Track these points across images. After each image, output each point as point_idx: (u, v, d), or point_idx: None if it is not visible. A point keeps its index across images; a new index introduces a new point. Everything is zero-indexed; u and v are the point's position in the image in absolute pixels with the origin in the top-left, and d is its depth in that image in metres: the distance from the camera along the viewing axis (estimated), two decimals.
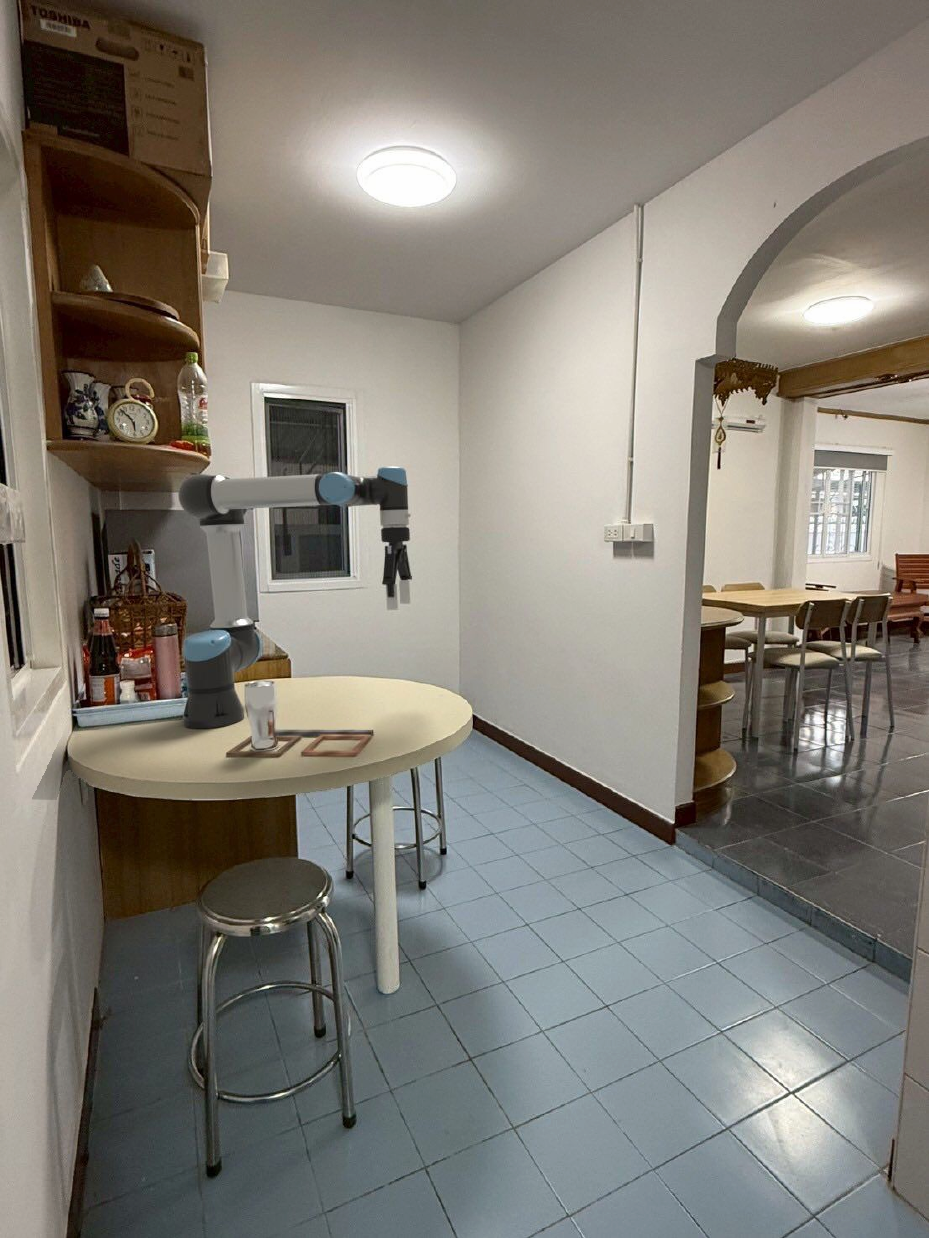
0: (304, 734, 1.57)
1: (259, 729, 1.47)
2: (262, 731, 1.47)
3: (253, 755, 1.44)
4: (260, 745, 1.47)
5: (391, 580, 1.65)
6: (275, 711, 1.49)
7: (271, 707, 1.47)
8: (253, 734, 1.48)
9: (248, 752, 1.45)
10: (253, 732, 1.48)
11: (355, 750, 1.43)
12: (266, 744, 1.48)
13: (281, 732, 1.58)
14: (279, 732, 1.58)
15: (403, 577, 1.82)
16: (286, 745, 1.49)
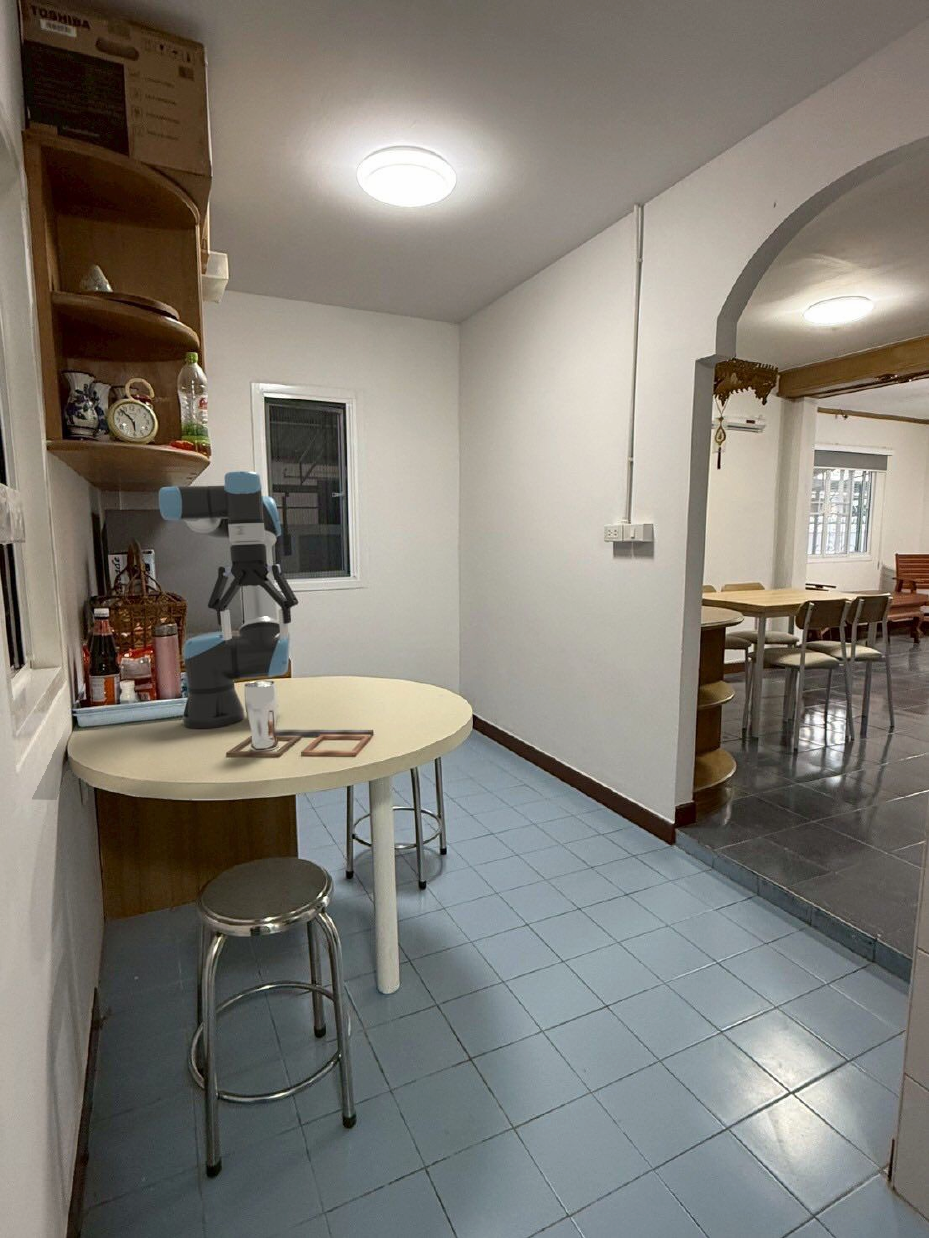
0: (304, 734, 1.57)
1: (259, 729, 1.47)
2: (262, 731, 1.47)
3: (253, 755, 1.44)
4: (260, 745, 1.47)
5: None
6: (275, 711, 1.49)
7: (271, 707, 1.47)
8: (253, 734, 1.48)
9: (248, 752, 1.45)
10: (253, 732, 1.48)
11: (355, 750, 1.43)
12: (266, 744, 1.48)
13: (281, 732, 1.58)
14: (279, 732, 1.58)
15: None
16: (286, 745, 1.49)
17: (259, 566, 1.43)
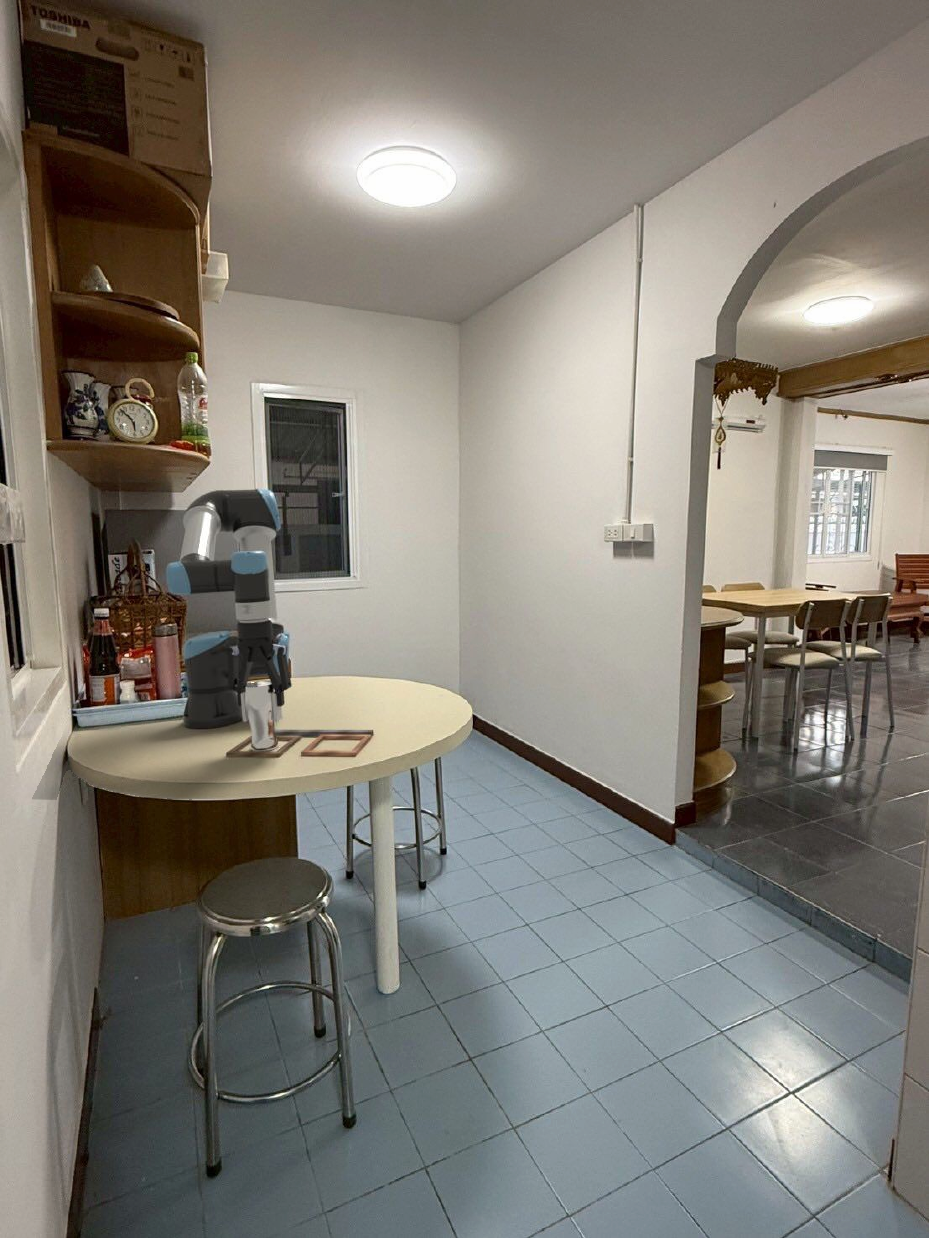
0: (304, 734, 1.57)
1: (259, 729, 1.47)
2: (262, 731, 1.47)
3: (253, 755, 1.44)
4: (260, 745, 1.47)
5: (229, 688, 1.49)
6: None
7: (271, 707, 1.47)
8: (253, 734, 1.48)
9: (248, 752, 1.45)
10: (253, 732, 1.48)
11: (355, 750, 1.43)
12: (266, 744, 1.48)
13: (281, 732, 1.58)
14: (279, 732, 1.58)
15: None
16: (286, 745, 1.49)
17: (266, 642, 1.46)
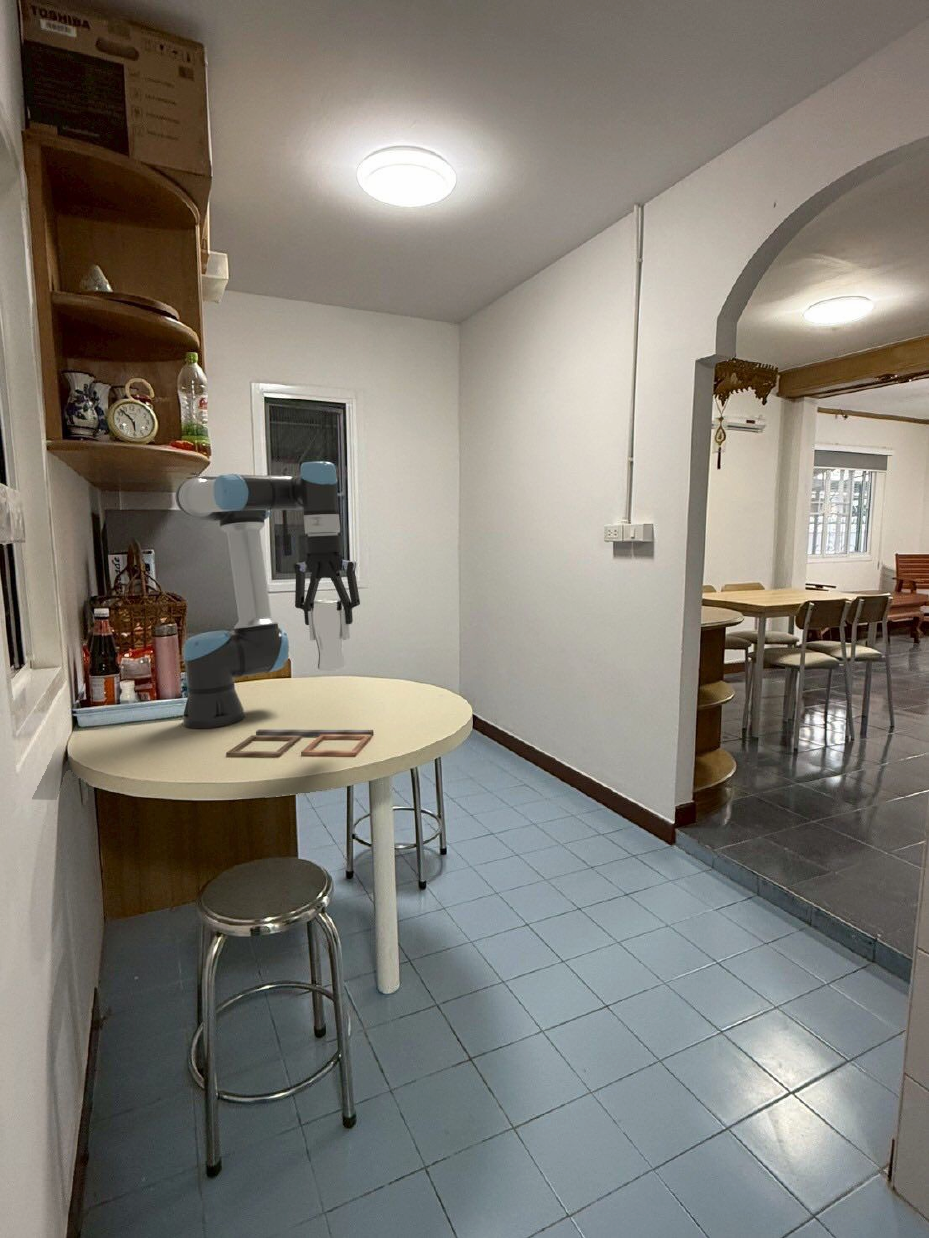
0: (304, 734, 1.57)
1: (327, 648, 1.43)
2: (331, 649, 1.43)
3: (253, 755, 1.44)
4: (328, 664, 1.43)
5: None
6: None
7: (339, 624, 1.43)
8: (321, 653, 1.44)
9: (248, 752, 1.45)
10: (321, 651, 1.44)
11: (355, 750, 1.43)
12: (334, 663, 1.44)
13: (281, 732, 1.58)
14: (279, 732, 1.58)
15: None
16: (286, 745, 1.49)
17: (336, 557, 1.42)
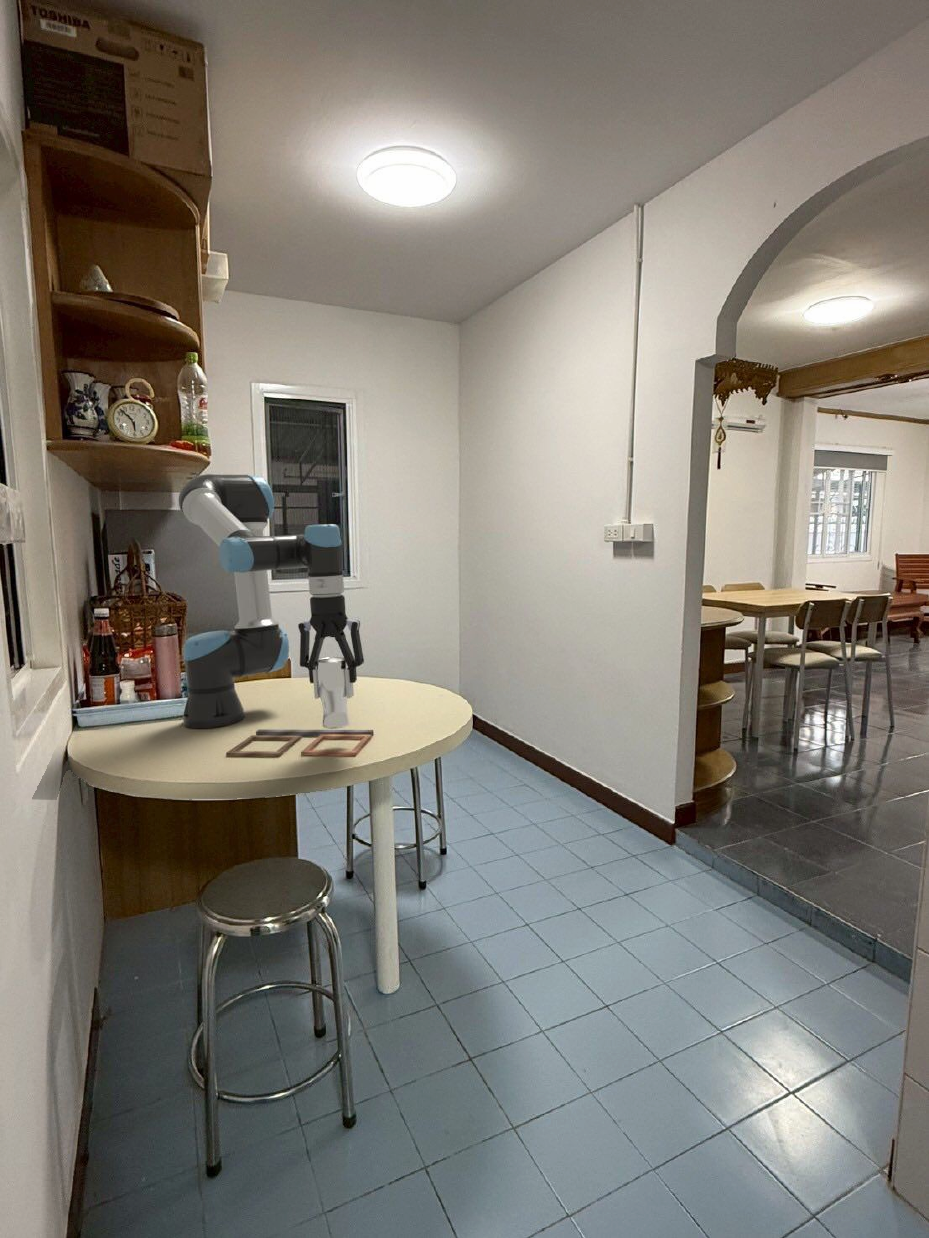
0: (304, 734, 1.57)
1: (332, 706, 1.45)
2: (335, 707, 1.45)
3: (253, 755, 1.44)
4: (333, 722, 1.45)
5: (300, 665, 1.46)
6: None
7: (344, 683, 1.45)
8: (325, 711, 1.46)
9: (248, 752, 1.45)
10: (325, 709, 1.46)
11: (355, 750, 1.43)
12: (339, 721, 1.45)
13: (281, 732, 1.58)
14: (279, 732, 1.58)
15: None
16: (286, 745, 1.49)
17: (340, 618, 1.43)
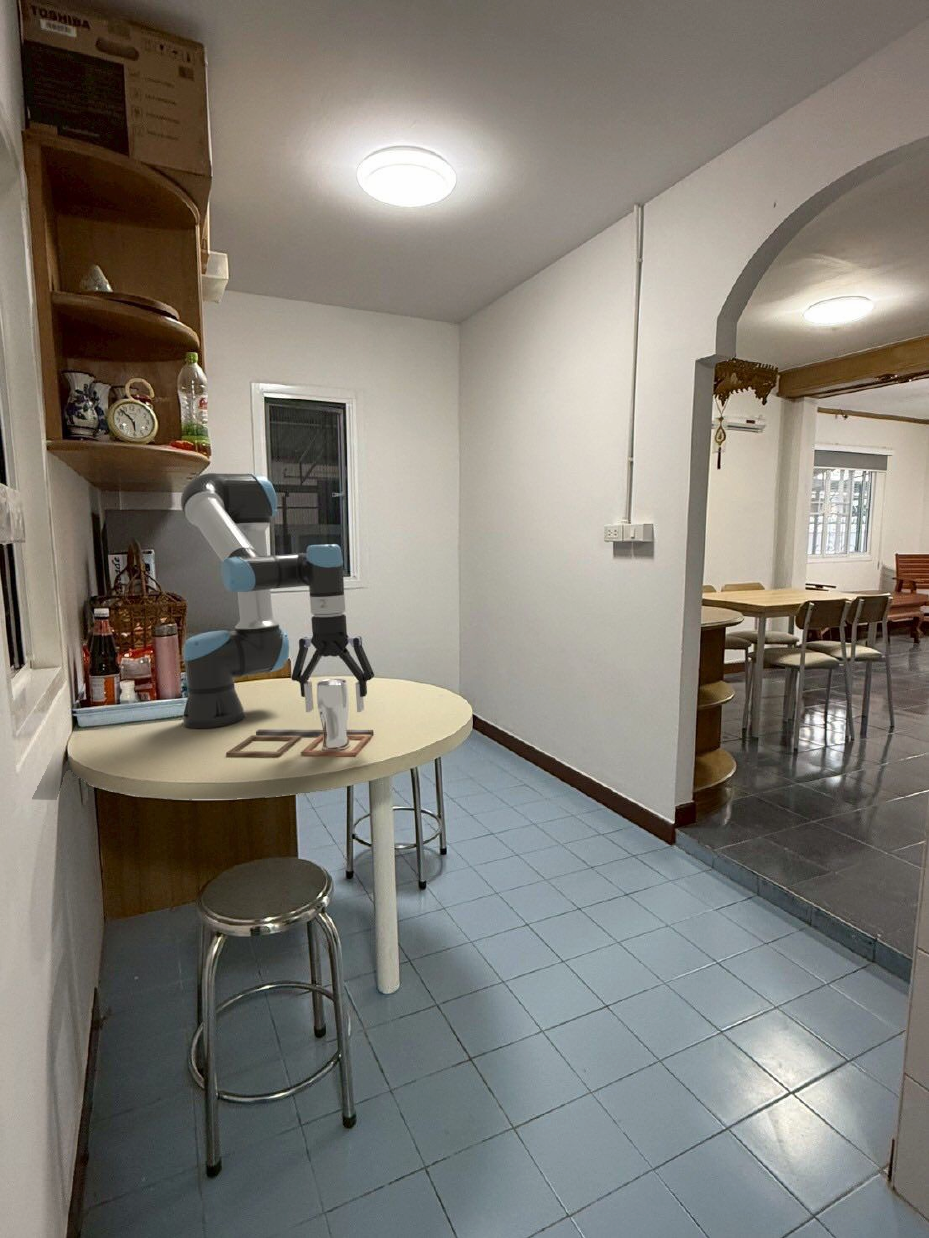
0: (304, 734, 1.57)
1: (332, 728, 1.46)
2: (335, 730, 1.46)
3: (253, 755, 1.44)
4: (333, 744, 1.46)
5: None
6: (347, 710, 1.47)
7: (344, 706, 1.46)
8: (325, 733, 1.47)
9: (248, 752, 1.45)
10: (325, 731, 1.46)
11: (355, 750, 1.43)
12: (339, 743, 1.46)
13: (281, 732, 1.58)
14: (279, 732, 1.58)
15: None
16: (286, 745, 1.49)
17: (340, 637, 1.44)
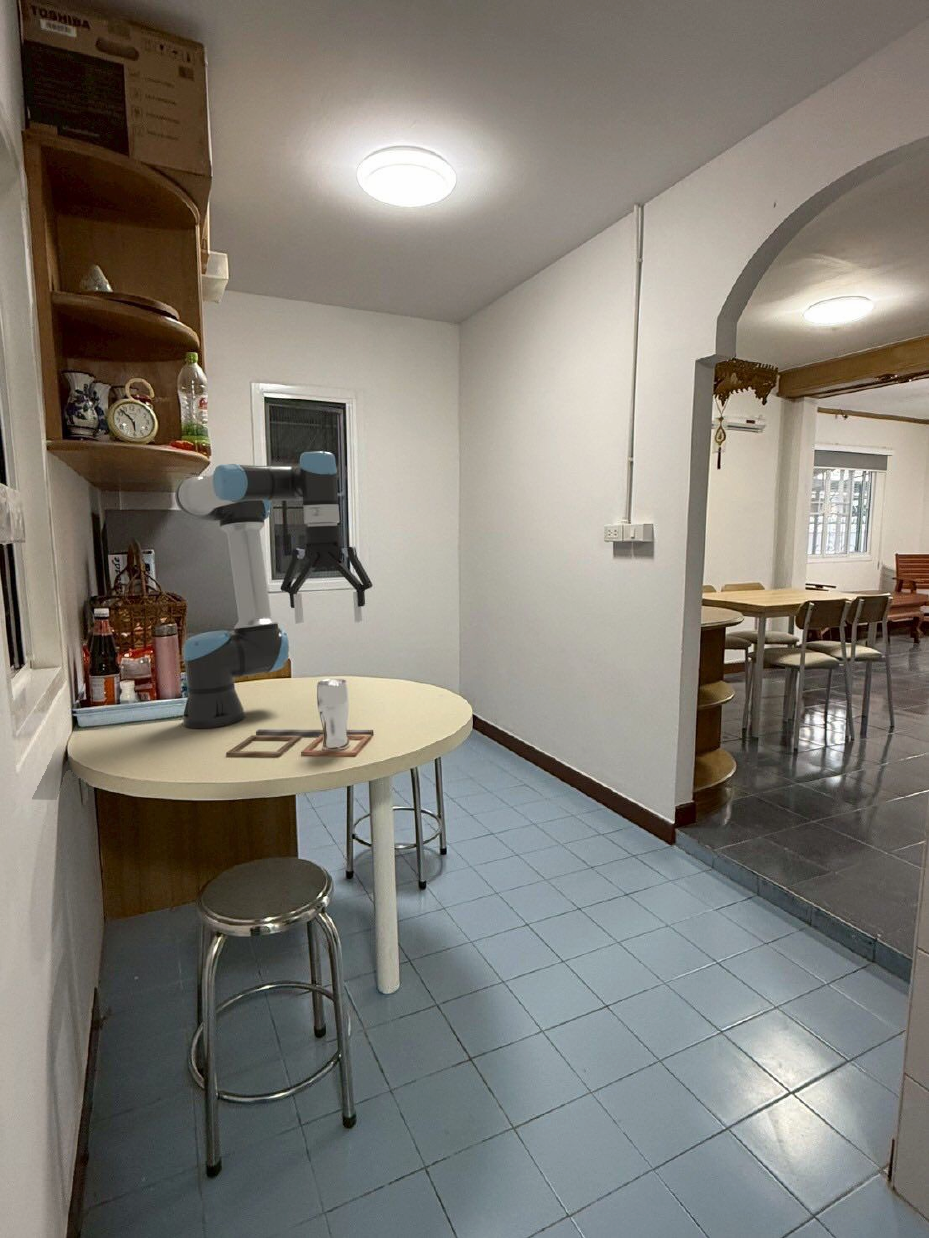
0: (304, 734, 1.57)
1: (332, 728, 1.46)
2: (335, 730, 1.46)
3: (253, 755, 1.44)
4: (333, 744, 1.46)
5: (281, 588, 1.45)
6: (347, 710, 1.47)
7: (344, 706, 1.46)
8: (325, 733, 1.47)
9: (248, 752, 1.45)
10: (325, 731, 1.46)
11: (355, 750, 1.43)
12: (339, 743, 1.46)
13: (281, 732, 1.58)
14: (279, 732, 1.58)
15: None
16: (286, 745, 1.49)
17: (334, 548, 1.42)
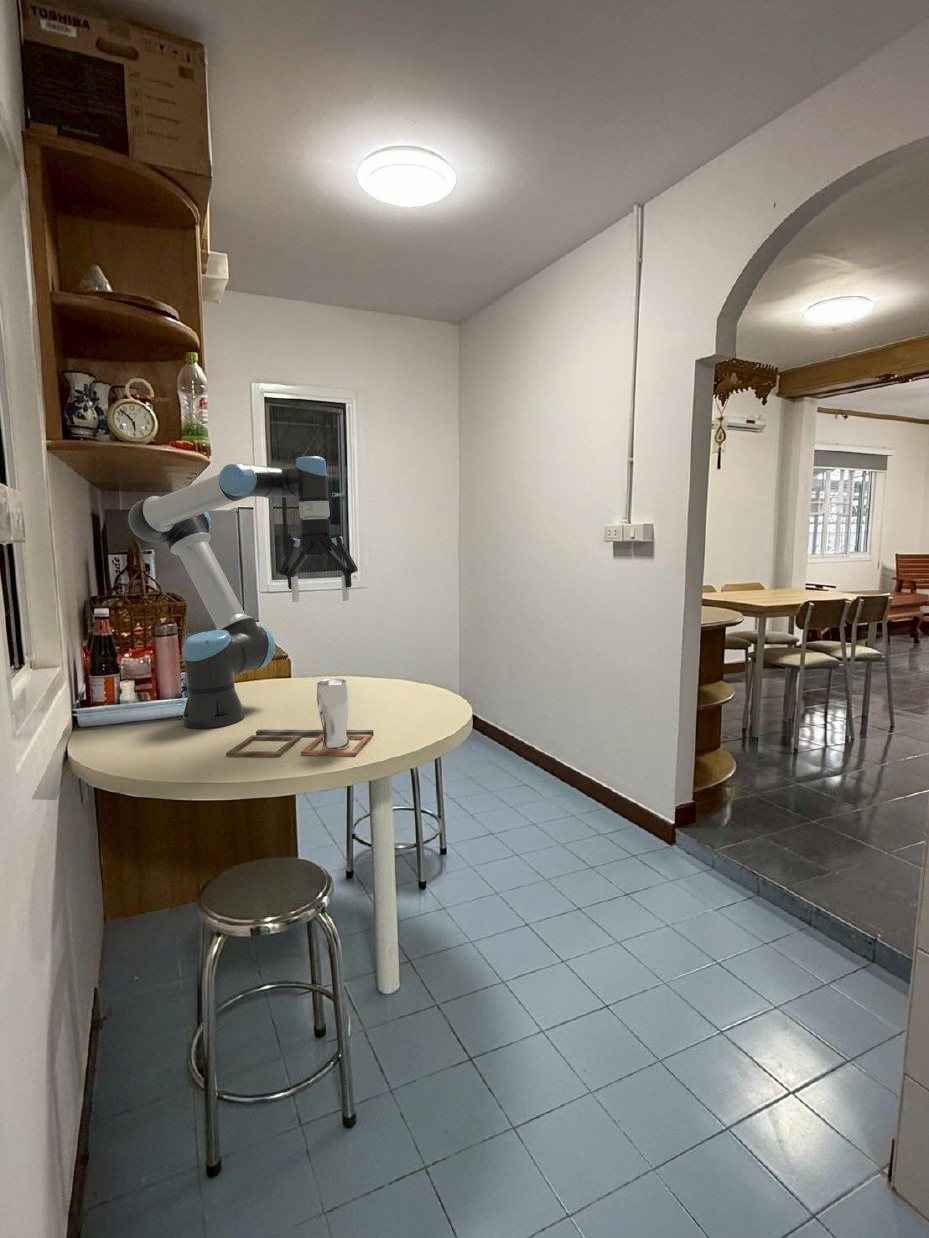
0: (304, 734, 1.57)
1: (332, 728, 1.46)
2: (335, 730, 1.46)
3: (253, 755, 1.44)
4: (333, 744, 1.46)
5: (280, 572, 1.70)
6: (347, 710, 1.47)
7: (344, 706, 1.46)
8: (325, 733, 1.47)
9: (248, 752, 1.45)
10: (325, 731, 1.46)
11: (355, 750, 1.43)
12: (339, 743, 1.46)
13: (281, 732, 1.58)
14: (279, 732, 1.58)
15: None
16: (286, 745, 1.49)
17: (325, 538, 1.67)
